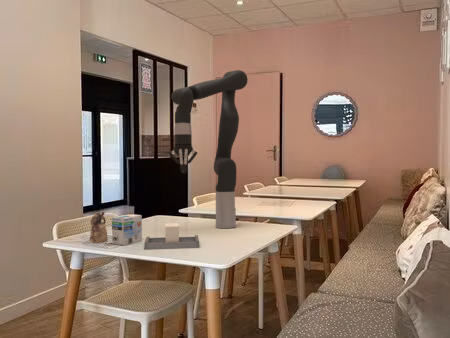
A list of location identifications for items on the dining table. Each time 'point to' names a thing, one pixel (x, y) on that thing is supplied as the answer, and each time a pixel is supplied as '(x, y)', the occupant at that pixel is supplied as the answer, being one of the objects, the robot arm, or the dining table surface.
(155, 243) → the grey flat rectangular frame
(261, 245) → the dining table surface
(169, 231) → the block
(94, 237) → the figurine
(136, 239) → the light bulb box
